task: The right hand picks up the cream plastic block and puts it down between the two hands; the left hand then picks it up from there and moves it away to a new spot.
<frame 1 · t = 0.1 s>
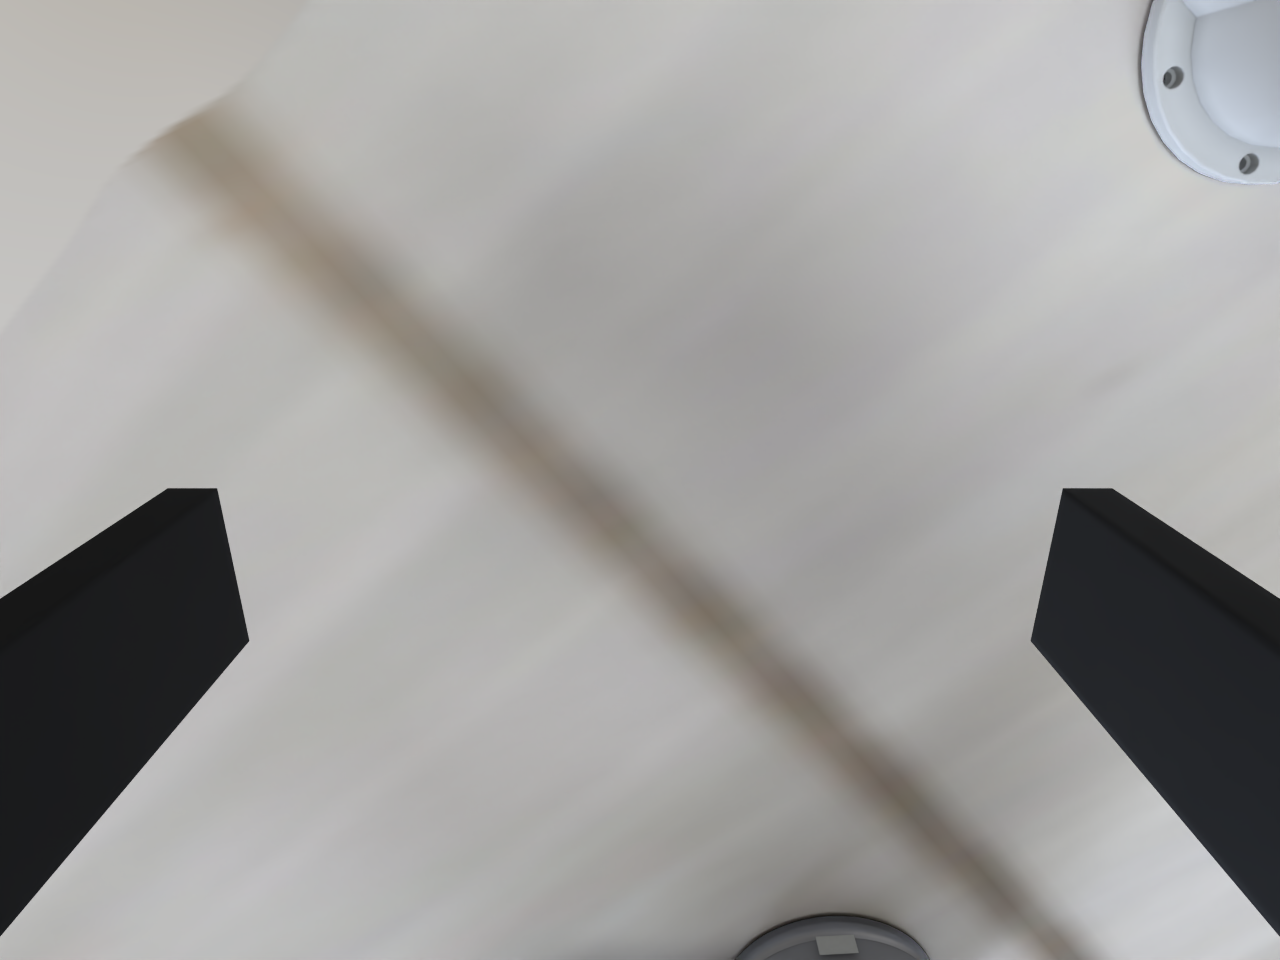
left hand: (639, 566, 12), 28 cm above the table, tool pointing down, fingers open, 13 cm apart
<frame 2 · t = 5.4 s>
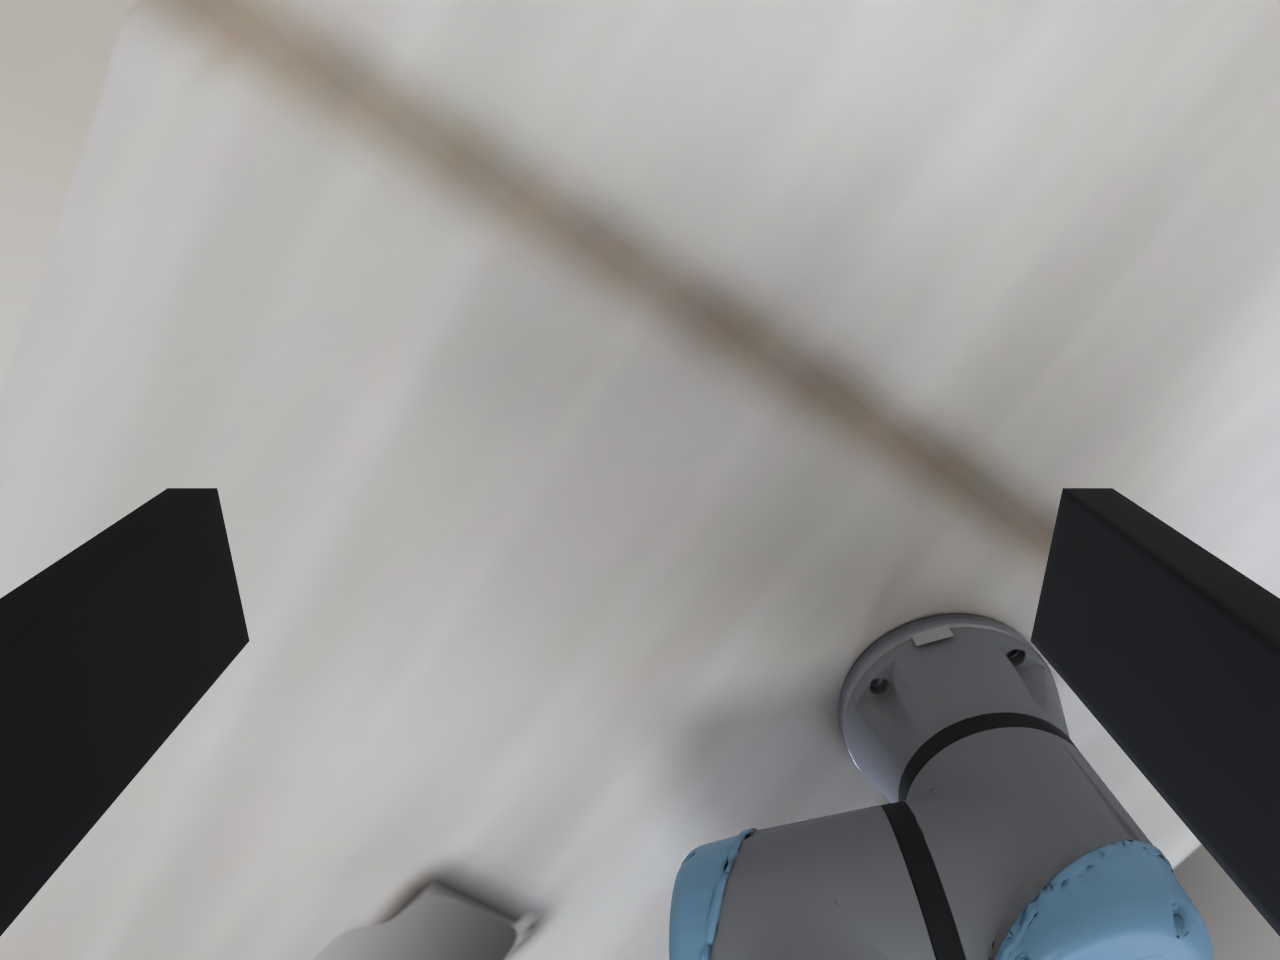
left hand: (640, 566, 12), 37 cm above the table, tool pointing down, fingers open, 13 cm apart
when the right hand's fingers open (1 cm above the table, at t = 13.8 s): block stays where it is, on the table.
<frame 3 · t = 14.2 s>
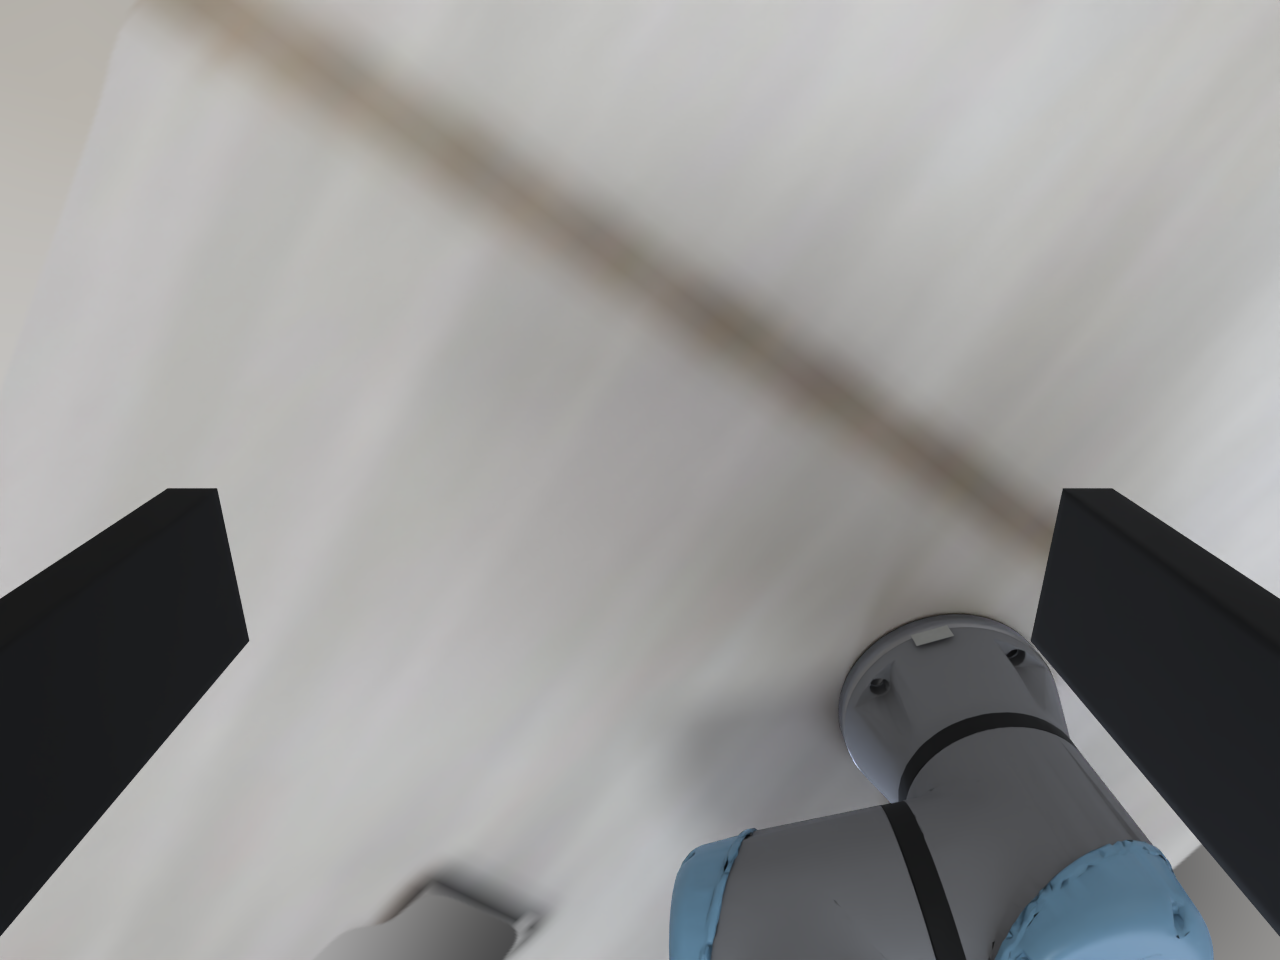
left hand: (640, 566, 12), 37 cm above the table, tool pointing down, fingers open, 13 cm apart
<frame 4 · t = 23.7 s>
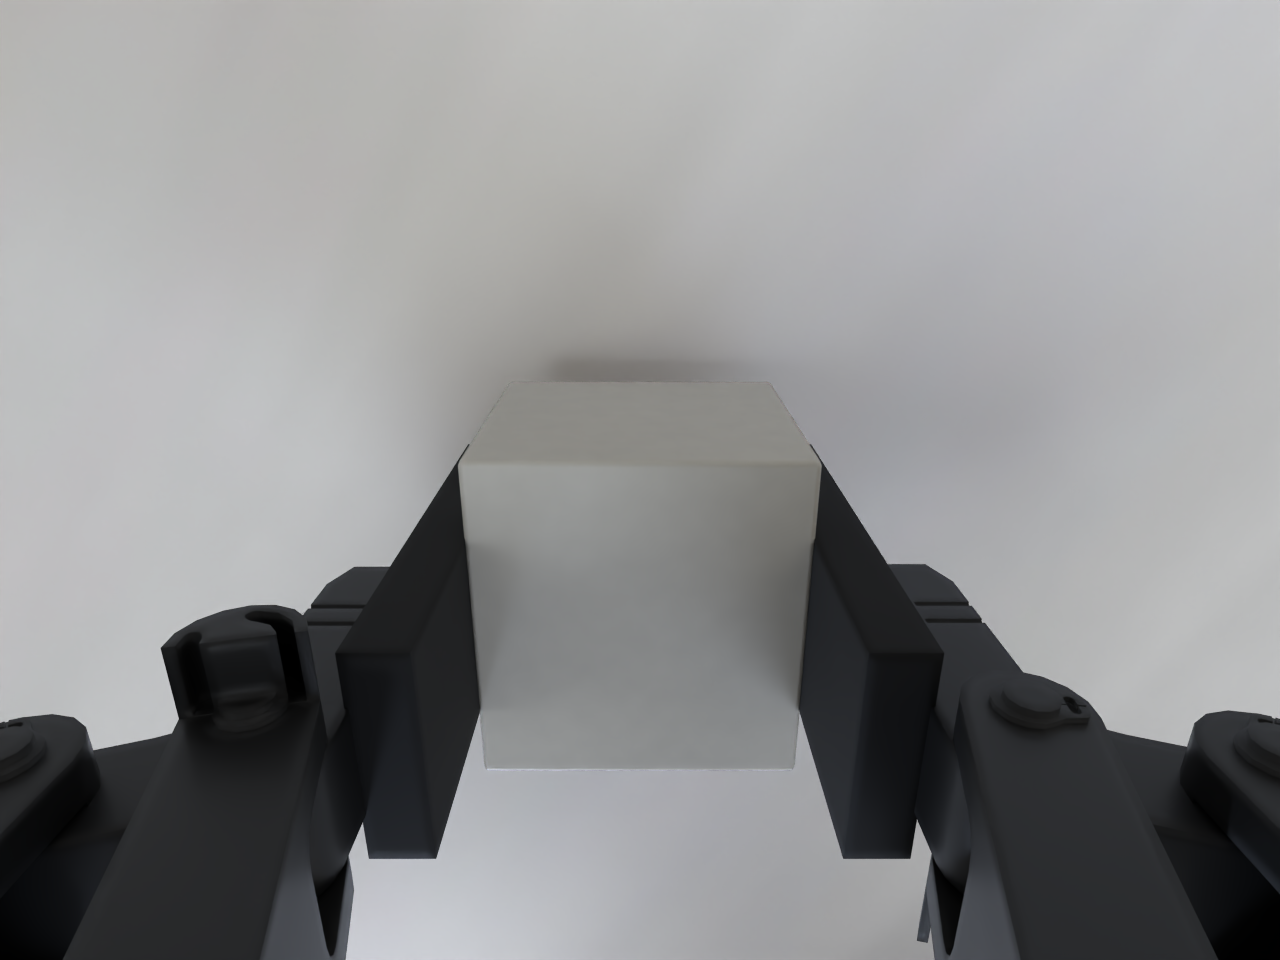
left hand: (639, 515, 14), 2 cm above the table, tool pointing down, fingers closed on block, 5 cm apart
block: (639, 508, 15), point 2 cm above the table, touching left hand
when the left hand's fingers open (0 cm above the table, at t = 33.2 s): block stays where it is, on the table.
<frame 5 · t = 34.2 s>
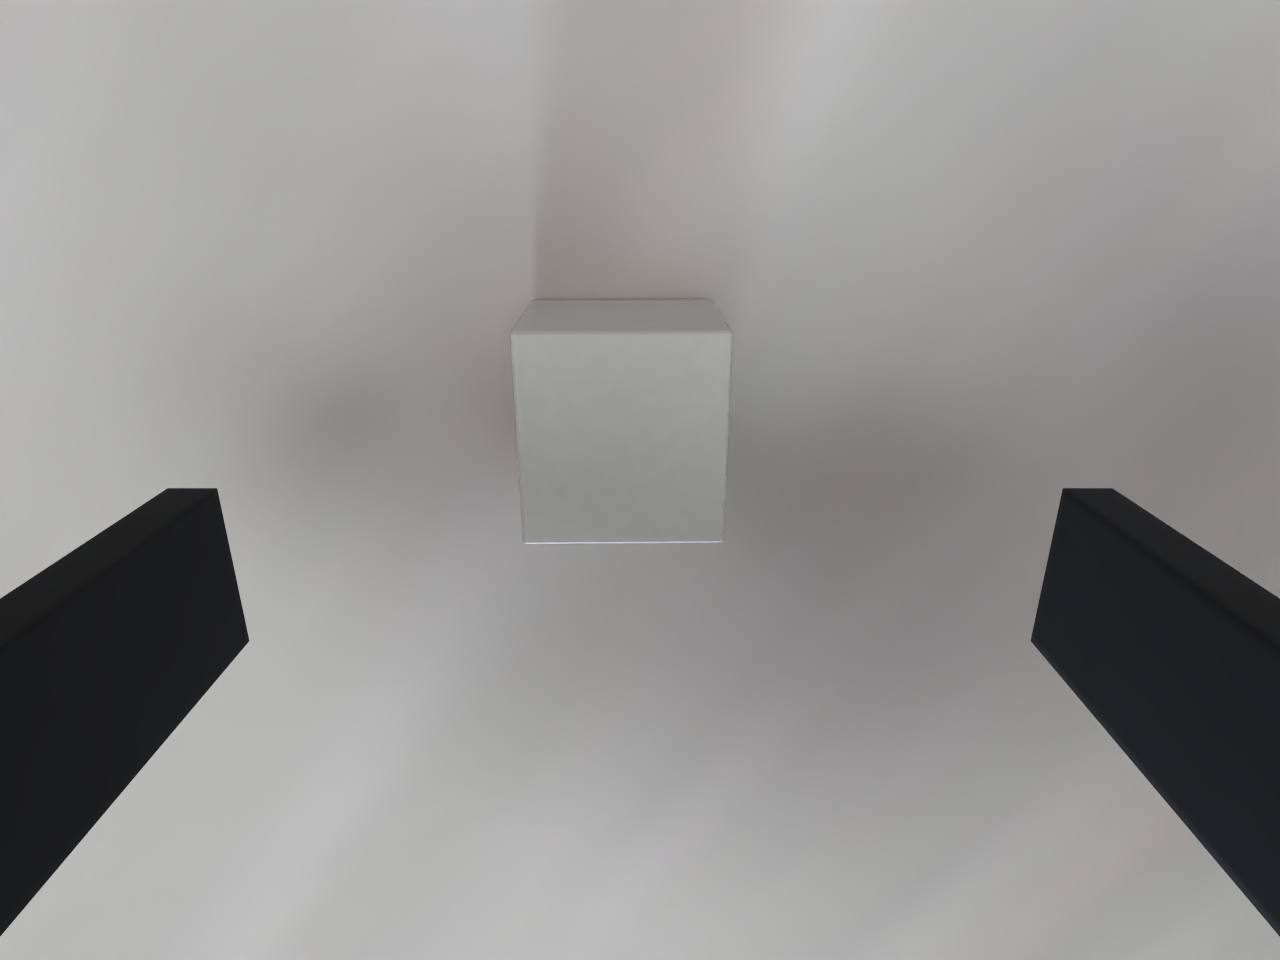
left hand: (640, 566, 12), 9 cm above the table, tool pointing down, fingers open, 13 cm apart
block: (623, 391, 21), on the table
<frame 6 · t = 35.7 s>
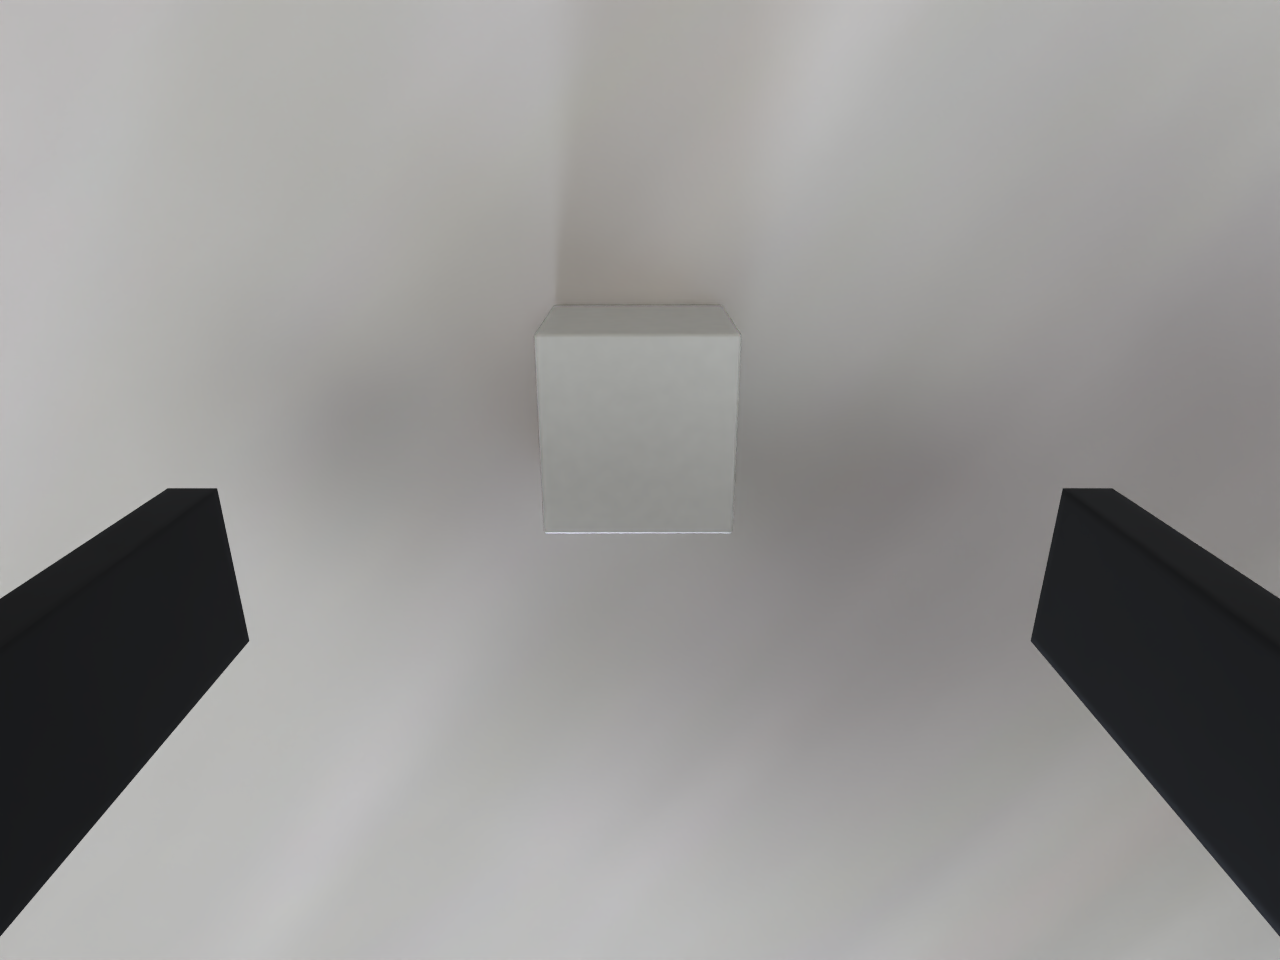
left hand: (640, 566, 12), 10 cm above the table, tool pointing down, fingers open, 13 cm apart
block: (638, 392, 22), on the table
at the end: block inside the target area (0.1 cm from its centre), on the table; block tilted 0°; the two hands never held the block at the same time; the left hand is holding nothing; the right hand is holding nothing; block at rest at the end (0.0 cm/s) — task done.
